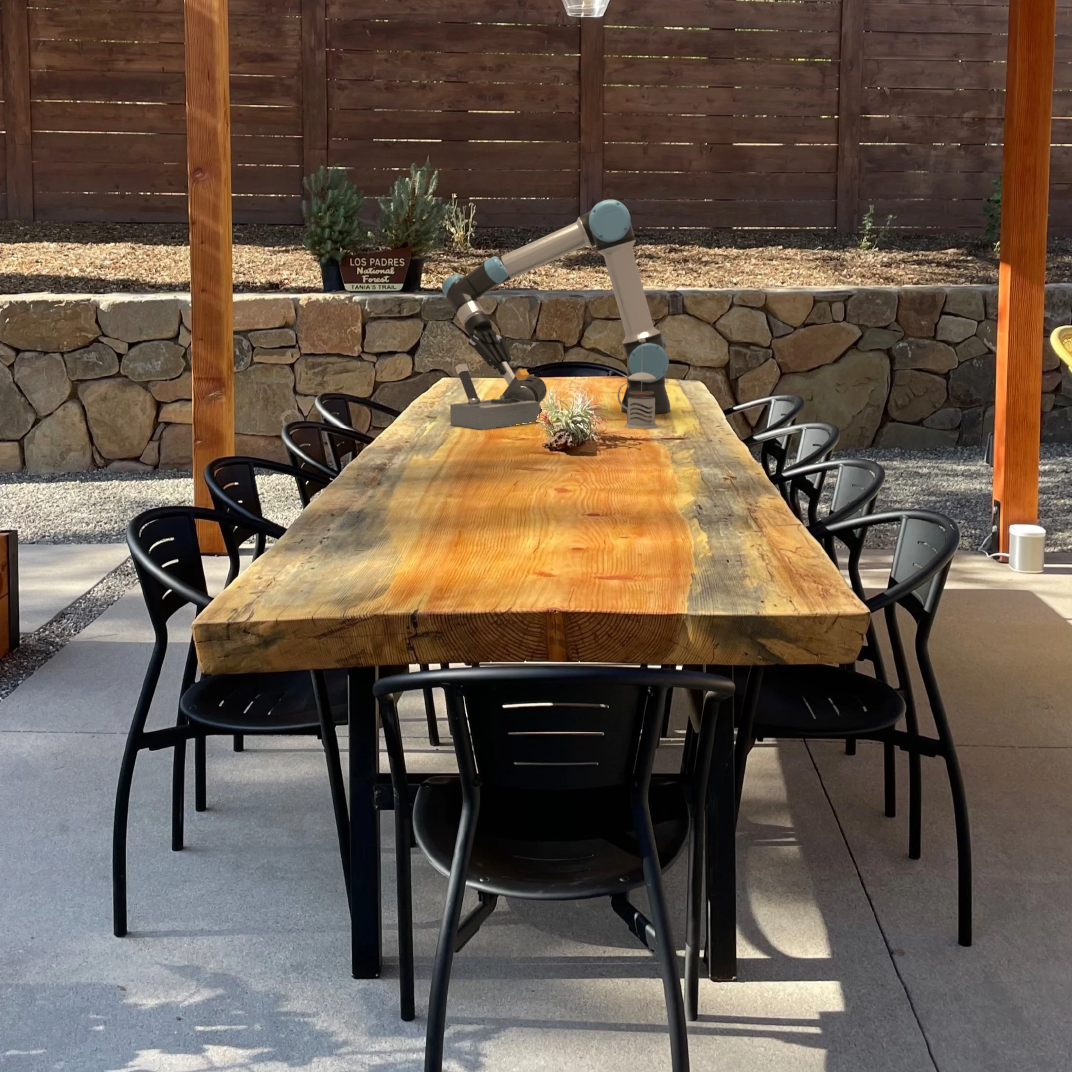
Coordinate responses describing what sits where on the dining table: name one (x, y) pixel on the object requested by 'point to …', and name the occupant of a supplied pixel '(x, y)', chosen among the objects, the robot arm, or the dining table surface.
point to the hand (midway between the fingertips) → (512, 382)
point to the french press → (634, 418)
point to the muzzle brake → (531, 390)
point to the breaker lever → (514, 385)
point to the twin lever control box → (489, 408)
